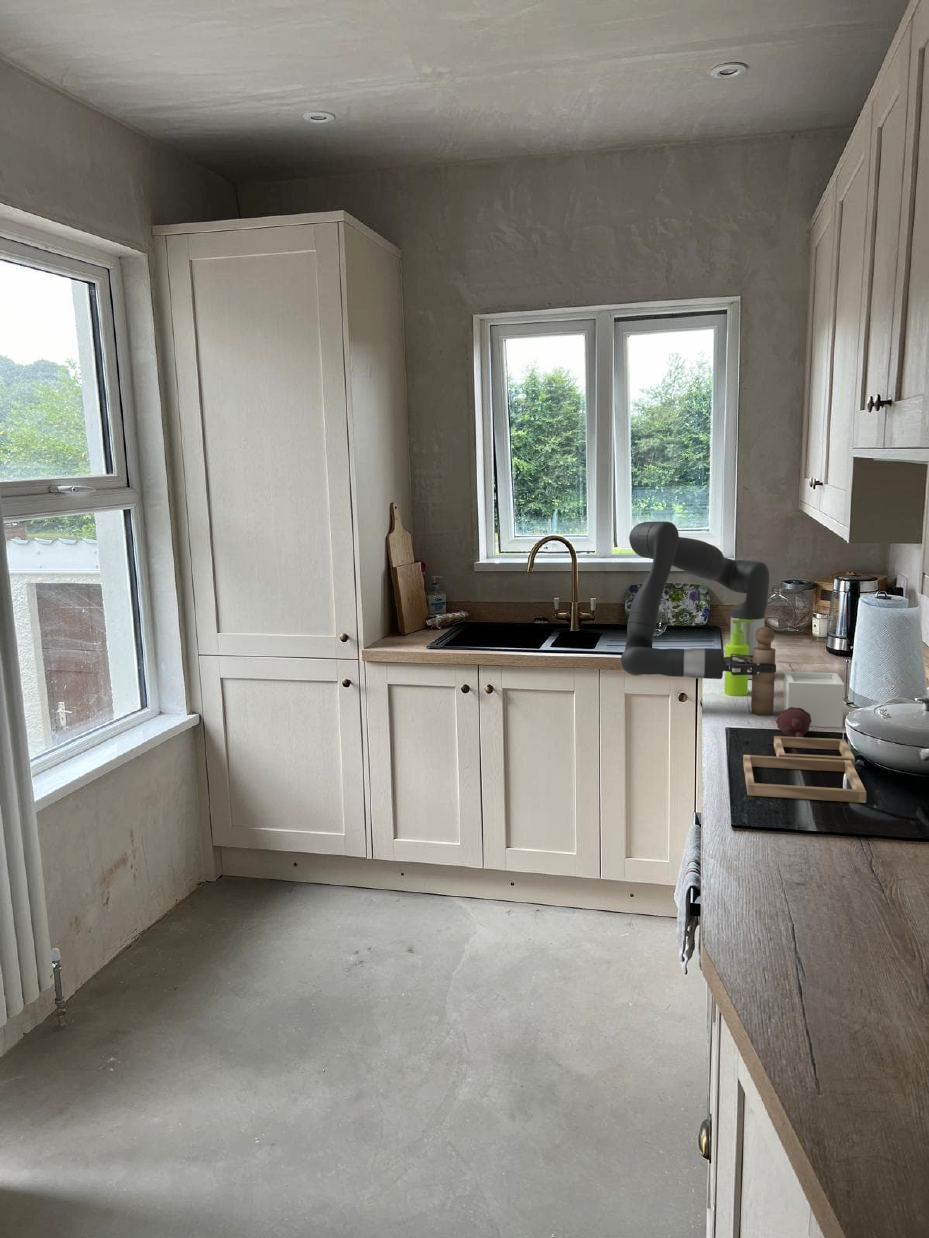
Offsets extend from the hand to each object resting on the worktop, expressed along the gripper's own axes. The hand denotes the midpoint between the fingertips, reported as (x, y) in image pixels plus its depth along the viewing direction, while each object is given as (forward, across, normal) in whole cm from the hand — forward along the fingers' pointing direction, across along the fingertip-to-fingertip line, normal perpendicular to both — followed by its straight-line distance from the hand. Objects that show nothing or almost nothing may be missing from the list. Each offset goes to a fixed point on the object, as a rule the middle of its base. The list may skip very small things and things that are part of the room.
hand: (774, 665), depth 222 cm
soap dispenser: (-8, +19, +12) cm, 24 cm away
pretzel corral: (+1, -50, +12) cm, 51 cm away
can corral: (+5, -33, +12) cm, 36 cm away
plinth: (+8, -4, +12) cm, 15 cm away
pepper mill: (-3, 0, +12) cm, 12 cm away
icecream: (+3, -19, +12) cm, 23 cm away
